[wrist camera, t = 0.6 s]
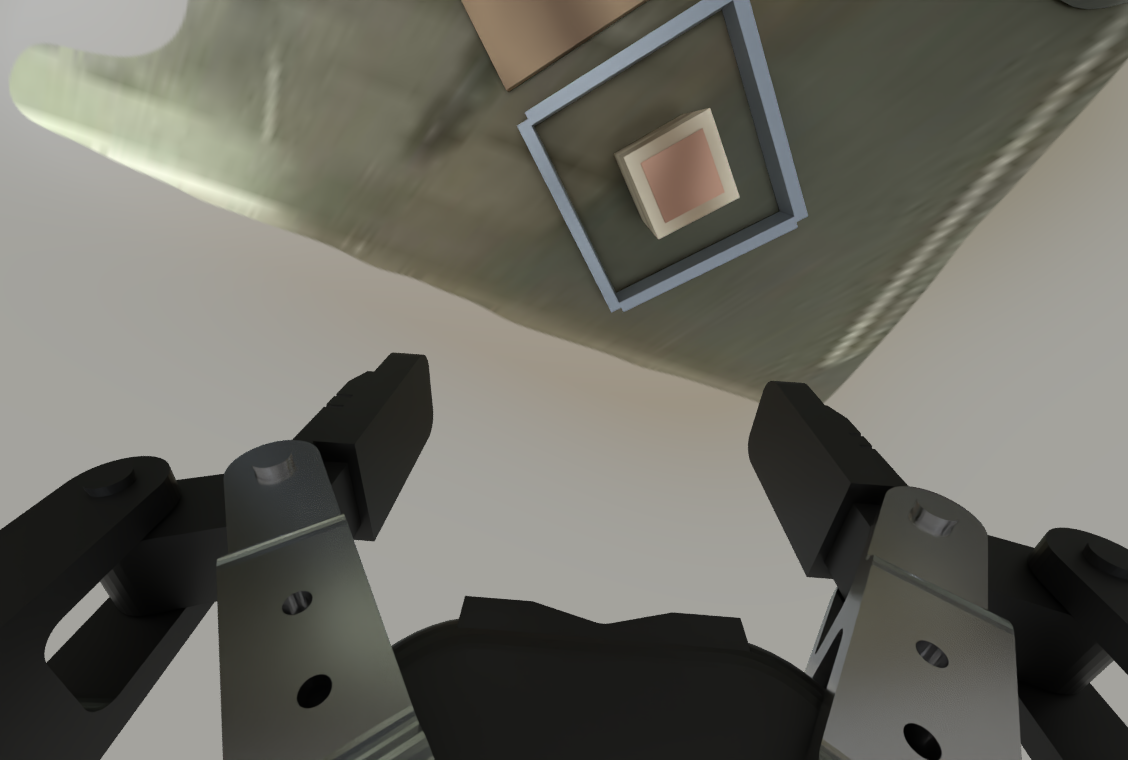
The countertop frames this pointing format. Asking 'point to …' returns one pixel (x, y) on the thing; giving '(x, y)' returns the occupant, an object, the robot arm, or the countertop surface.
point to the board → (539, 30)
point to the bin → (767, 127)
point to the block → (678, 172)
